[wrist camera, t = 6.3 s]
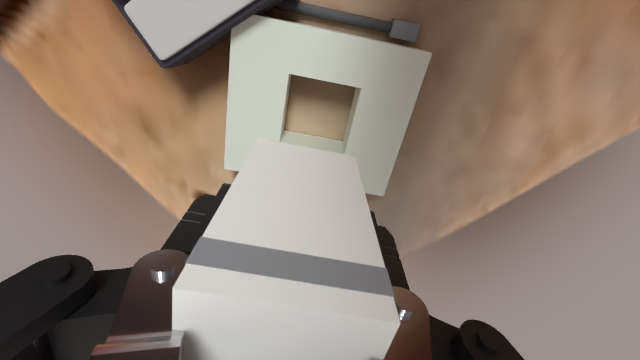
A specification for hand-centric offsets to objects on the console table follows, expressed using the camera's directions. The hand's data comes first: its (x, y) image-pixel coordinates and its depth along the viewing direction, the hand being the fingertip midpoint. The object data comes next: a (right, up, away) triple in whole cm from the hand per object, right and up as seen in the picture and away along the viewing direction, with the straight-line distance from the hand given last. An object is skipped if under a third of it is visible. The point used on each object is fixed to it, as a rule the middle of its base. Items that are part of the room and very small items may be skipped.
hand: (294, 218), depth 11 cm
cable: (+1, +14, +12) cm, 18 cm away
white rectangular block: (0, +1, +2) cm, 2 cm away
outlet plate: (+1, +8, +15) cm, 17 cm away
